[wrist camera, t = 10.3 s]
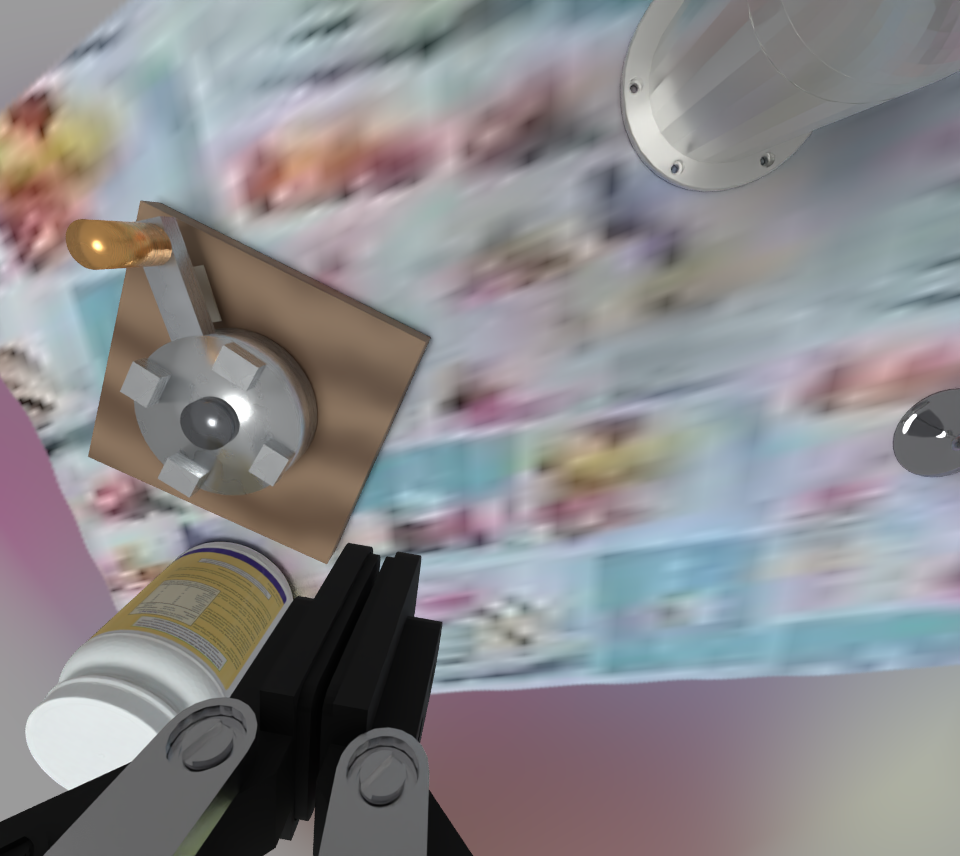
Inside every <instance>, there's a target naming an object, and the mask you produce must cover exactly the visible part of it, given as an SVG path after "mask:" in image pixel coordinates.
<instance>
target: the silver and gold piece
mask: <svg viewBox="0 0 960 856" xmlns="http://www.w3.org/2000/svg"><path fill="white" fill-rule="evenodd" d="M66 244H67V247H68V250H69V252H70V254H71V255H72V257H73V258H74V259H75V260H76V261H77V262H78V263H79V264H80V265H82V266H84V267H86V268H88V269H93V270H99V269H116V268H133V267H143V269H144V271H145V274H146V276H147V279H148V282H149V284H150V287H151V289H152V292H153V295H154V297H155V300H156V302H157V305H158V308H159V310H160V313H161V315H162V318H163V321H164V323H165V326H166V328H167V331H168V334H169V336H170V339H171V342H169V343H167V344H165V345H163V346H162V347H160V348H159V349H157V350H156V351H155V352H154V353H153V354H152V355H150V356H149V358H148V359H147V358H146V357H145V358H142V359H139V360H135V361H133V362H132V364H131V367H130V369H129V371H128V374H127V376H126V379H125V381H124V383H123V386H122V388H121V390H120V392H122V393H123V394H125V395H126V396H128V397H130V398H131V399H133V400H134V407H135V414H136V418H137V422H138V425H139V428H140V430H141V433H142V435H143V437H144V439H145V441H146V443H147V444H148V446H149V447H150V449H151V451H152V452H153V453H154V454H155V456H156V457H157V458H158V459H159V460H160V461H161V463H162V464H163V465H164V466H163V468H162V470H161V472H160V474H159V476H158V479H159V480H161V481H163V482H164V483H166V484H168V485H169V486H171V487H173V488H174V489H176V490H177V491H179V492H181V493H182V494H184V495H186V496H187V497H189V498H190V497H191V496H192V495H194V494H195V493H196V492H198V491H199V490H200V489H202V490H205V491H208V492H212V493H216V494H222V495H244V494H249V493H253V492H256V491H259V490H262V489H264V488H265V487H267V486H269V485H271V486H274V485H275V484H276V483H277V482H278V481H279V480H280V479H281V478H282V476H283V474H284V473H285V472H286V471H287V470H288V469H289V468H290V467H291V466H292V465H293V464H294V463H295V462H296V461H297V460H298V459H299V458H300V457H301V456H302V455H303V454H304V453H305V452H306V450H307V449H308V447H309V446H310V444H311V442H312V440H313V437H314V434H315V430H316V425H317V406H316V400H315V396H314V392H313V389H312V387H311V384H310V382H309V380H308V378H307V376H306V374H305V373H304V371H303V370H302V368H301V367H300V365H299V364H298V363H297V362H296V361H295V359H294V358H293V357H292V356H291V355H290V354H289V353H288V352H287V351H286V350H284V349H283V348H282V347H281V346H279V345H278V344H277V343H275V342H273V341H272V340H270V339H268V338H266V337H264V336H262V335H260V334H257V333H255V332H251V331H248V330H243V329H237V328H220V329H215V328H214V325H213V323H212V320H211V317H210V314H209V311H208V308H207V306H206V303H205V300H204V297H203V294H202V291H201V289H200V286H199V283H198V280H197V277H196V274H195V271H194V269H193V266H192V263H191V260H190V257H189V254H188V252H187V249H186V246H185V243H184V240H183V237H182V235H181V232H180V229H179V226H178V223H177V220H176V218H175V217H164V216H158V217H154V218H150V219H145V220H141V221H136V222H122V221H104V220H87V219H80V220H76V221H74V222H73V223H71V224H70V225H69V227H68V229H67V232H66Z"/></svg>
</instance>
